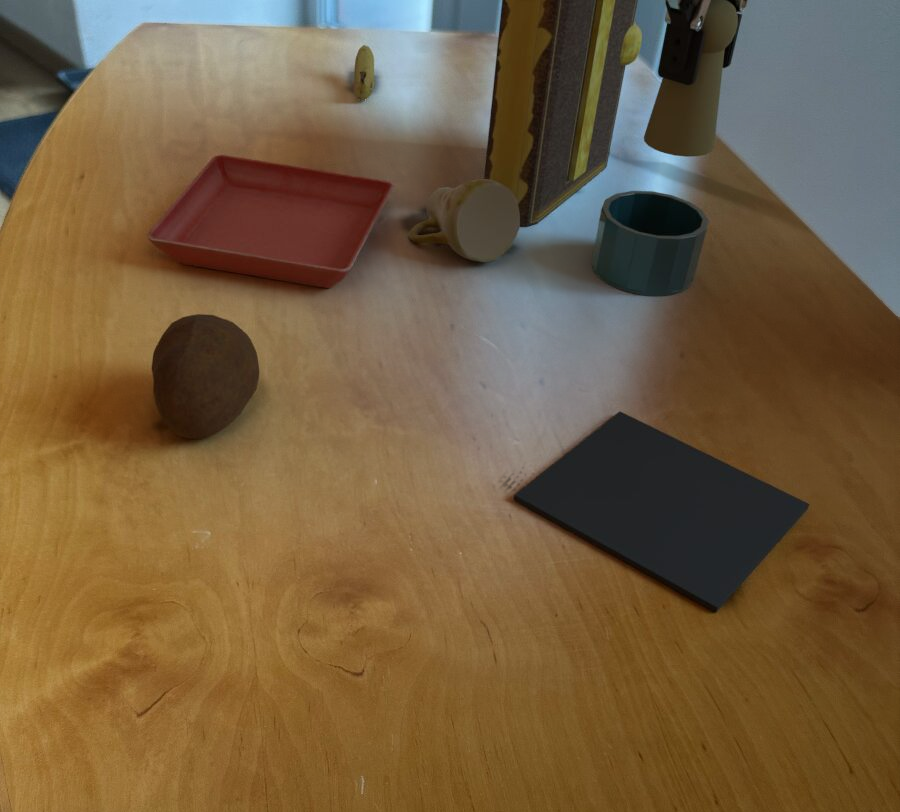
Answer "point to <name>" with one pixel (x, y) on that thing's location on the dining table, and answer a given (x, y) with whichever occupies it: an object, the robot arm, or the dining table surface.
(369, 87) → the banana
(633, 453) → the mat
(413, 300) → the dining table surface
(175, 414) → the potato
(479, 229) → the mug
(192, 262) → the plant saucer
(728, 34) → the olive pawn piece
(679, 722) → the dining table surface
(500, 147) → the book
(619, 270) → the crock
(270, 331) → the dining table surface
